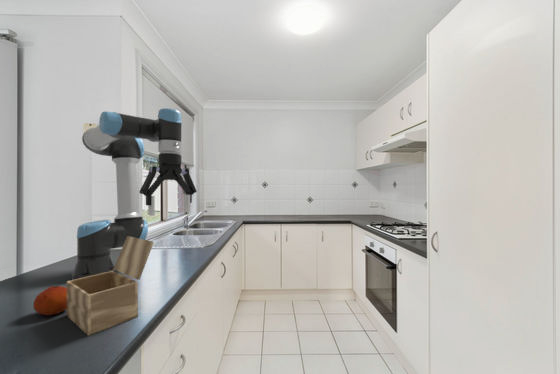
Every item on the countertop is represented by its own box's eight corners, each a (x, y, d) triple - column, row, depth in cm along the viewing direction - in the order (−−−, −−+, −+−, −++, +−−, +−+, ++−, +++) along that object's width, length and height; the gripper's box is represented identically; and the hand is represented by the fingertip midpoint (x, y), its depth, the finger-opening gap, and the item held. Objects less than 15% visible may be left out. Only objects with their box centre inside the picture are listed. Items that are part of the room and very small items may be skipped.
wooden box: (66, 315, 76) (66, 281, 77) (112, 301, 86) (112, 270, 86) (88, 335, 66) (87, 295, 66) (137, 316, 75) (137, 281, 75)
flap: (127, 235, 90) (129, 236, 90) (113, 269, 86) (115, 269, 86) (152, 241, 79) (154, 241, 80) (137, 279, 76) (139, 279, 76)
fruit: (80, 307, 82) (80, 281, 82) (49, 321, 73) (49, 292, 73) (58, 305, 84) (58, 280, 84) (26, 318, 75) (26, 290, 75)
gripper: (139, 148, 80) (139, 217, 80) (205, 156, 100) (205, 211, 100) (127, 150, 85) (128, 216, 85) (193, 157, 105) (194, 210, 105)
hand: (170, 213), depth 93 cm, fingers open, 13 cm apart
